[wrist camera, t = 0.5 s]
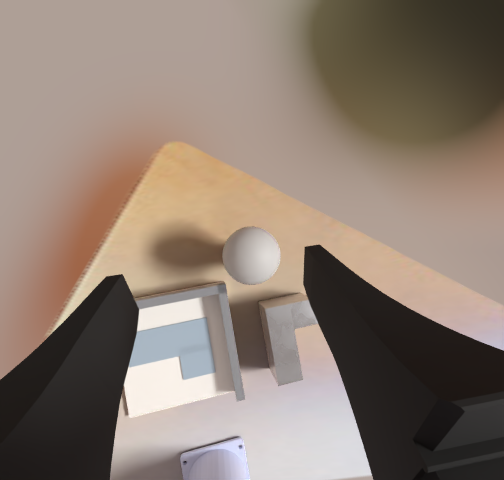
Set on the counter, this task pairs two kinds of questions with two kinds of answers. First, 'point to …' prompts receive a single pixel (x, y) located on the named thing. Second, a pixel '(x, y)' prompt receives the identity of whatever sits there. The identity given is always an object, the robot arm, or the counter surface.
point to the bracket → (285, 334)
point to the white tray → (182, 350)
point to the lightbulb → (251, 255)
